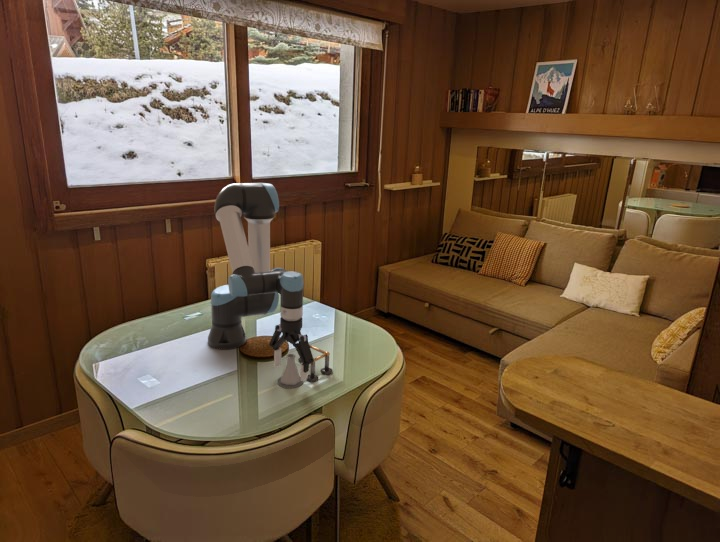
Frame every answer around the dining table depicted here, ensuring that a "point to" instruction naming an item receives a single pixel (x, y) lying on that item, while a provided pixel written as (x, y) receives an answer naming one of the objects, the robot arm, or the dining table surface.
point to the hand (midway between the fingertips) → (290, 372)
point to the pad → (289, 385)
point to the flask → (290, 371)
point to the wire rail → (312, 376)
